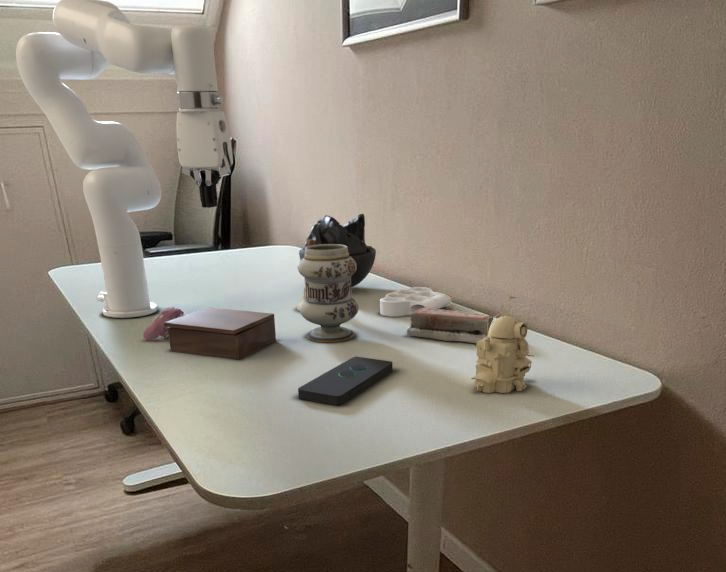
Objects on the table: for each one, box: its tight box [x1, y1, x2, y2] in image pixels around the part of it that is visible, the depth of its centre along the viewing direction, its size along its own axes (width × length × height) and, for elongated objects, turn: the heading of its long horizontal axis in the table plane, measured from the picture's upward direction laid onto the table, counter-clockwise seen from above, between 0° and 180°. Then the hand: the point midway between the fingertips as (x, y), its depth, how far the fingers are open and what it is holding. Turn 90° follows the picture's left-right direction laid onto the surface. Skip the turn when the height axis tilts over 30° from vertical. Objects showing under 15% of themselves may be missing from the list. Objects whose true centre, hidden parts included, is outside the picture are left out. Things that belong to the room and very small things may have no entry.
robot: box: [470, 294, 535, 394], centre depth 116 cm, size 10×8×15 cm
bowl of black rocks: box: [298, 213, 377, 288], centre depth 185 cm, size 20×20×19 cm
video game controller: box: [142, 306, 185, 342], centre depth 150 cm, size 10×5×7 cm, turn 168°
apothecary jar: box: [297, 244, 360, 343], centre depth 145 cm, size 12×12×18 cm
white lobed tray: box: [379, 286, 452, 318], centre depth 168 cm, size 3×18×15 cm
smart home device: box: [297, 356, 394, 406], centre depth 122 cm, size 8×2×20 cm
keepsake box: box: [167, 317, 277, 360], centre depth 143 cm, size 14×16×5 cm
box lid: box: [164, 306, 275, 334], centre depth 141 cm, size 15×16×1 cm
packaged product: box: [406, 308, 494, 344], centre depth 147 cm, size 18×5×10 cm
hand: (209, 206), depth 143 cm, fingers closed
